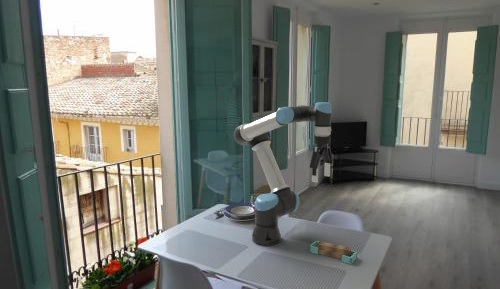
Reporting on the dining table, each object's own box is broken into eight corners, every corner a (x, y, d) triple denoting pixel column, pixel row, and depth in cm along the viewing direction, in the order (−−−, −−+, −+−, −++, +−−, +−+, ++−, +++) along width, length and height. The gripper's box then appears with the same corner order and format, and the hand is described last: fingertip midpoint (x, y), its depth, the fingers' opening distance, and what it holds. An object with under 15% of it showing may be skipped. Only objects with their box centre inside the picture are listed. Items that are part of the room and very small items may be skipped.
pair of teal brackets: (309, 251, 170) (309, 245, 170) (316, 246, 176) (316, 240, 176) (351, 264, 158) (351, 258, 158) (357, 257, 164) (357, 251, 164)
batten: (317, 253, 169) (317, 243, 168) (319, 250, 172) (319, 241, 171) (348, 260, 162) (349, 250, 161) (350, 257, 165) (351, 247, 164)
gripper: (318, 139, 155) (316, 186, 158) (340, 133, 174) (338, 174, 178) (302, 137, 159) (301, 183, 162) (326, 131, 179) (324, 172, 182)
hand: (321, 179), depth 170 cm, fingers open, 13 cm apart
